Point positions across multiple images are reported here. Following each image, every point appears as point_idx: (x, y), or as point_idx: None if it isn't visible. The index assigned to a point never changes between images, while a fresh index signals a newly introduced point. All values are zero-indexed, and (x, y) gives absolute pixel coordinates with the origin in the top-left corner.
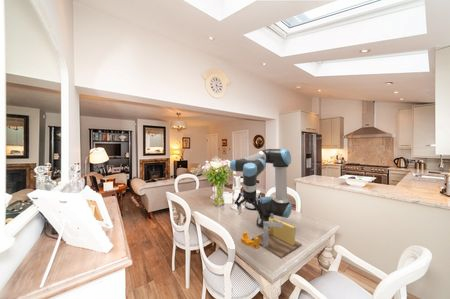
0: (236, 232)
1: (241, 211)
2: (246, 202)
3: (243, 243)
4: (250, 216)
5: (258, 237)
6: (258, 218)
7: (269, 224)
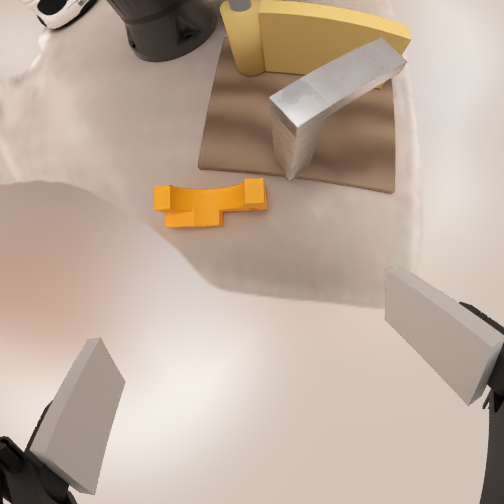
0: (105, 179)
1: (94, 353)
2: (44, 20)
3: (189, 227)
4: (90, 45)
5: (217, 132)
6: (429, 362)
7: (336, 105)
